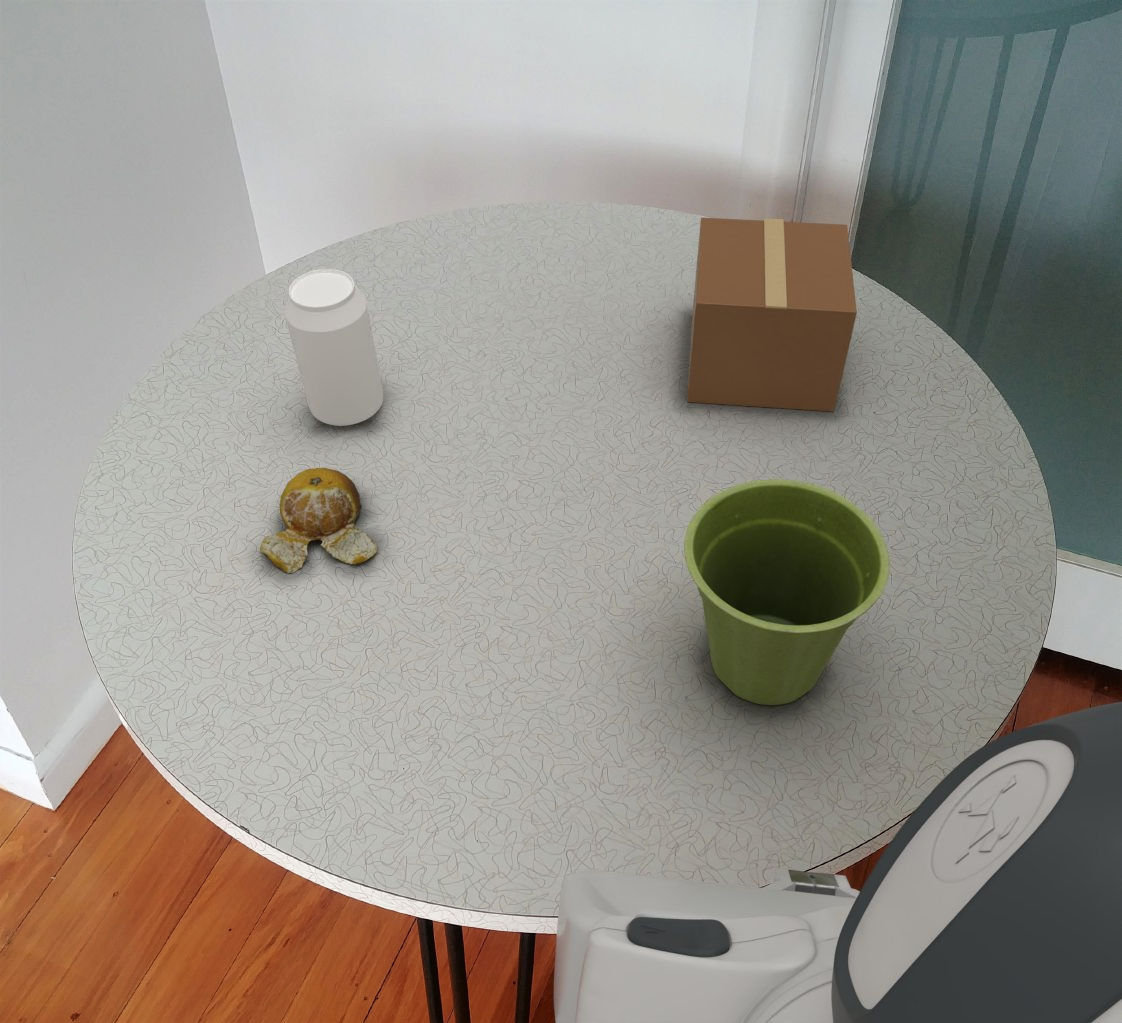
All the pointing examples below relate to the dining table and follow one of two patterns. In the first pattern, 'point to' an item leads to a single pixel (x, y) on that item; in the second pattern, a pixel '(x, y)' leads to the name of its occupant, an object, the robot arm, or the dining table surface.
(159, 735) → the dining table surface
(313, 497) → the fruit
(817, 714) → the dining table surface
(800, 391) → the carton
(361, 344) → the beverage can
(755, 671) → the plant pot
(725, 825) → the dining table surface
